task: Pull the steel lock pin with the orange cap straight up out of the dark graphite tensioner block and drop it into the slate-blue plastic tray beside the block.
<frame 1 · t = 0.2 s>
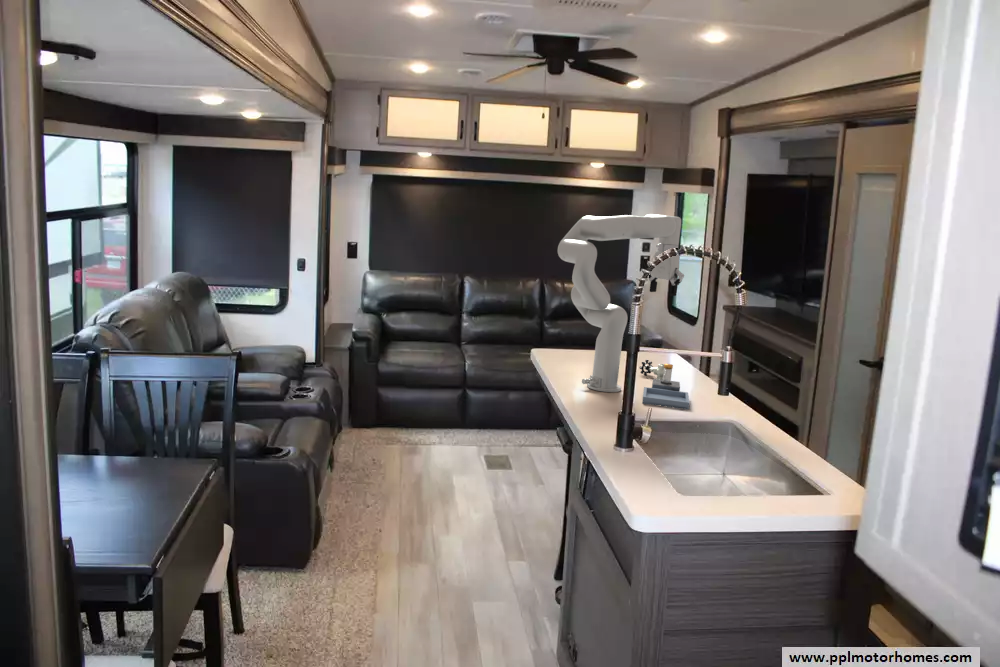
hand: (662, 293, 320), 36 cm above the table, tool pointing down, fingers open, 9 cm apart
lock pin: (665, 392, 316), resting in tensioner block
valve: (654, 379, 338), on the table
tensioner block: (665, 387, 315), on the table
parts tray: (665, 396, 309), on the table
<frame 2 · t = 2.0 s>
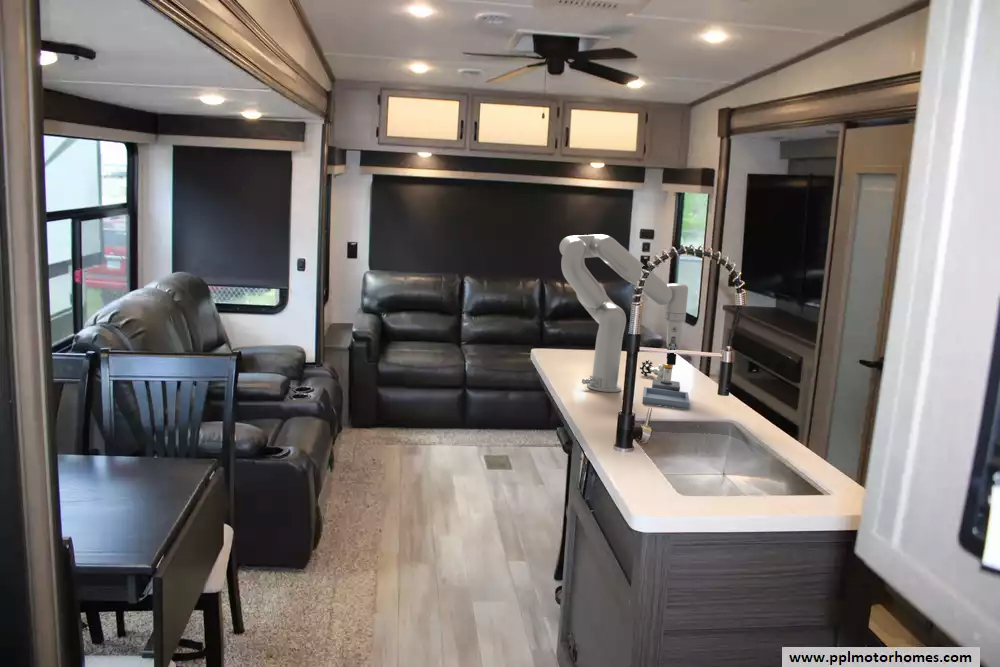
hand: (670, 362, 314), 12 cm above the table, tool pointing down, fingers open, 9 cm apart
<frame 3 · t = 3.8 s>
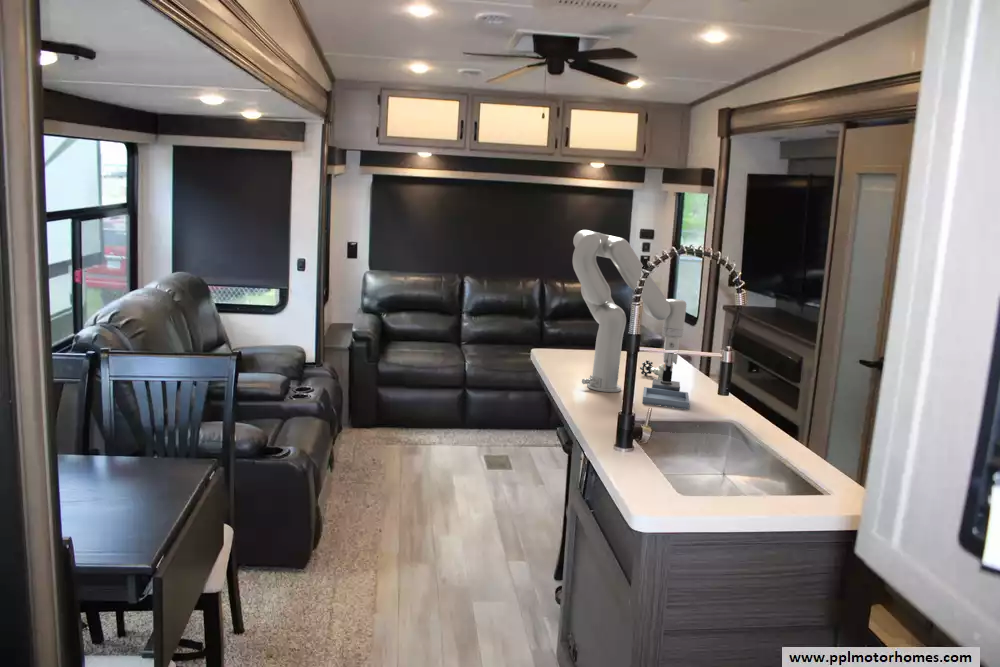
hand: (666, 379, 315), 5 cm above the table, tool pointing down, fingers closed on lock pin, 3 cm apart
lock pin: (665, 392, 316), resting in tensioner block, touching gripper
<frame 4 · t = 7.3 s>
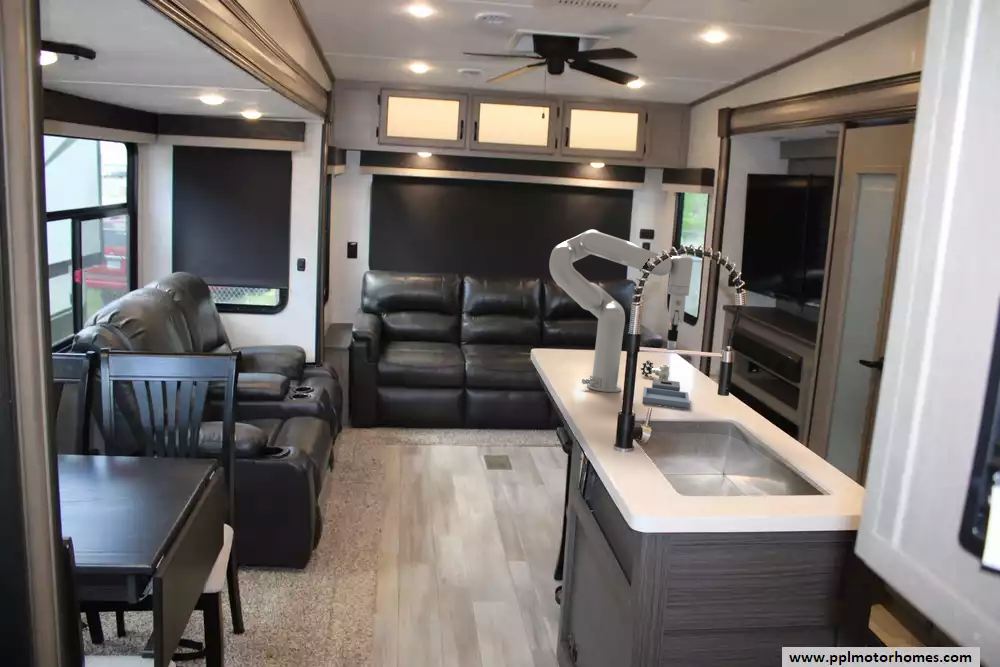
hand: (672, 339, 307), 21 cm above the table, tool pointing down, fingers closed on lock pin, 3 cm apart
lock pin: (670, 352, 307), point 16 cm above the table, touching gripper
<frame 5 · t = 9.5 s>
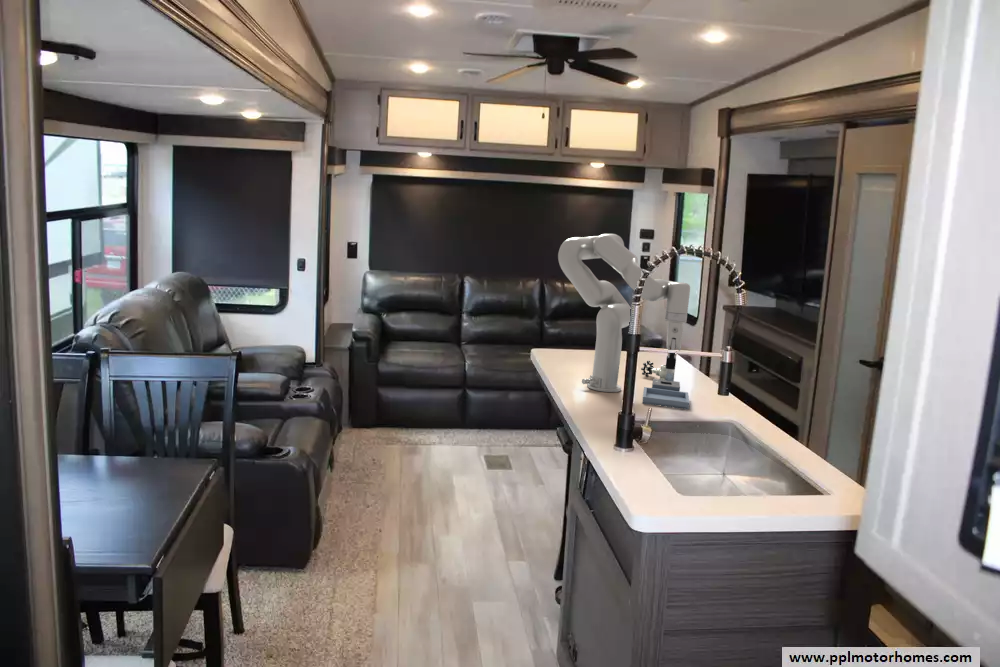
hand: (670, 367, 299), 13 cm above the table, tool pointing down, fingers closed on lock pin, 3 cm apart
lock pin: (669, 380, 300), point 8 cm above the table, touching gripper
when the fingers open (8 cm above the table, at t = 11.1 s): lock pin drops 2 cm, resting on parts tray.
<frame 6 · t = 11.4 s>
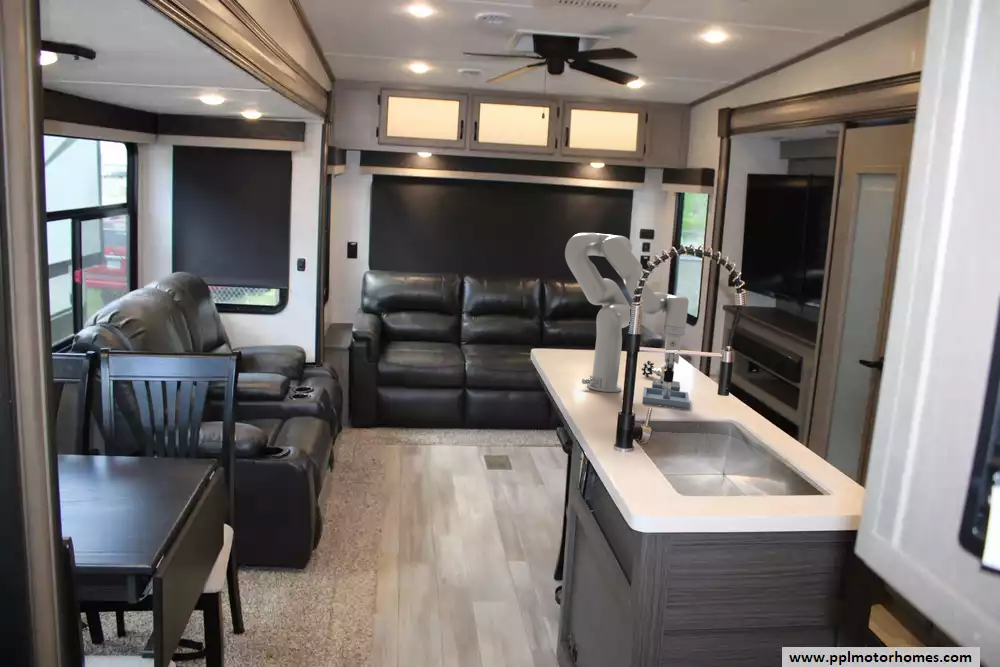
hand: (667, 379, 300), 8 cm above the table, tool pointing down, fingers open, 6 cm apart
lock pin: (665, 399, 301), point 1 cm above the table, touching parts tray
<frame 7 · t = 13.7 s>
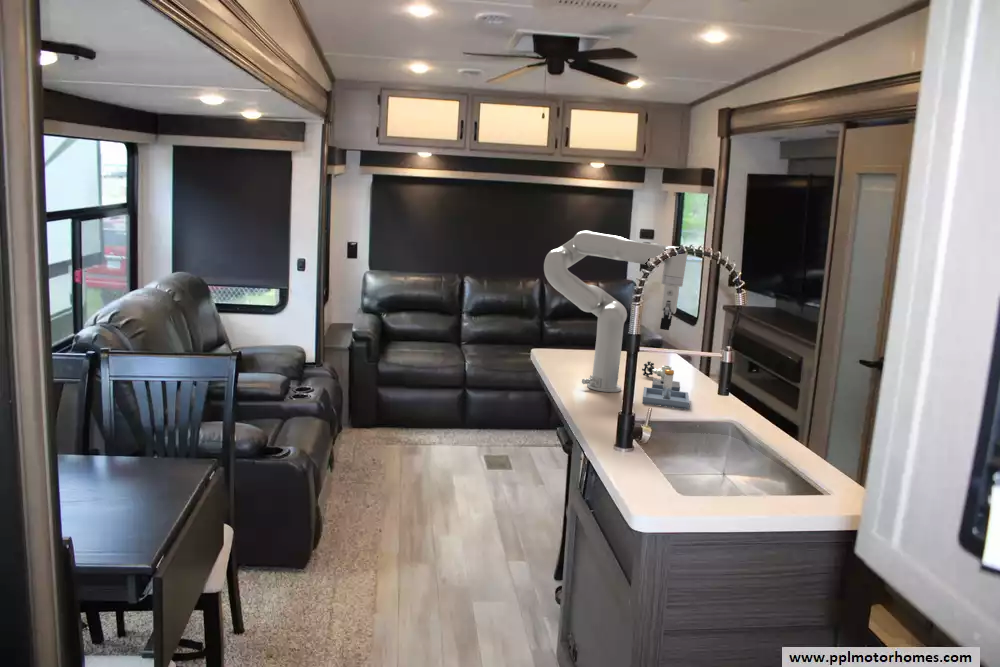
hand: (665, 327, 304), 26 cm above the table, tool pointing down, fingers open, 9 cm apart
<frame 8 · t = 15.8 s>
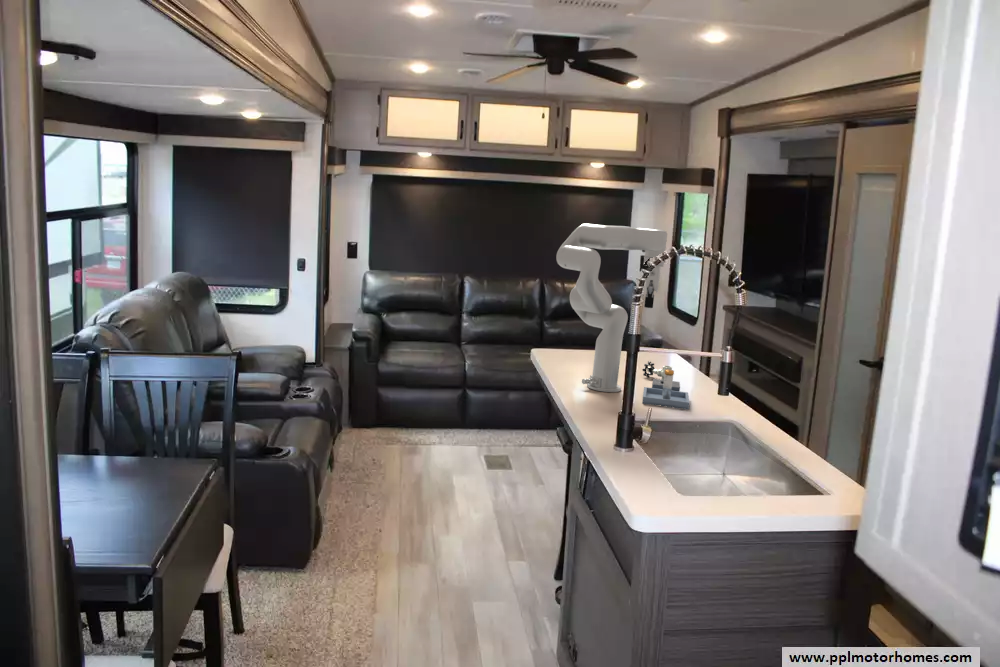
hand: (648, 306, 323), 30 cm above the table, tool pointing down, fingers open, 9 cm apart
at the end: lock pin inside the target area (0.1 cm from its centre), point 0.8 cm above the table; the gripper is holding nothing; lock pin moved 15.0 cm from its start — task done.
